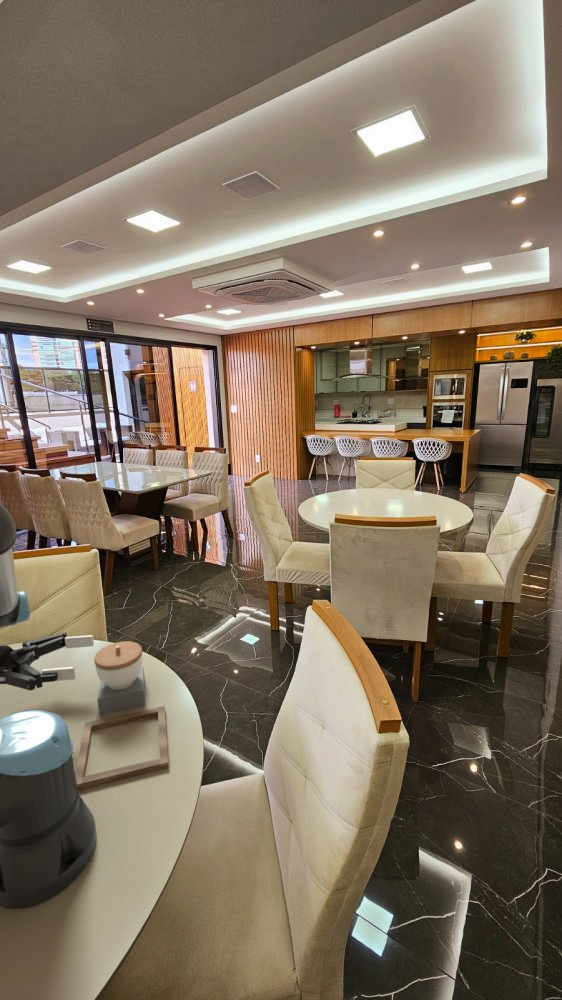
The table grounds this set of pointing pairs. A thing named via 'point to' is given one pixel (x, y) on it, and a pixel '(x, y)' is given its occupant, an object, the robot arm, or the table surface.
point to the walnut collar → (128, 770)
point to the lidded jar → (119, 664)
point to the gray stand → (122, 696)
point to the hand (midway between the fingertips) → (84, 655)
